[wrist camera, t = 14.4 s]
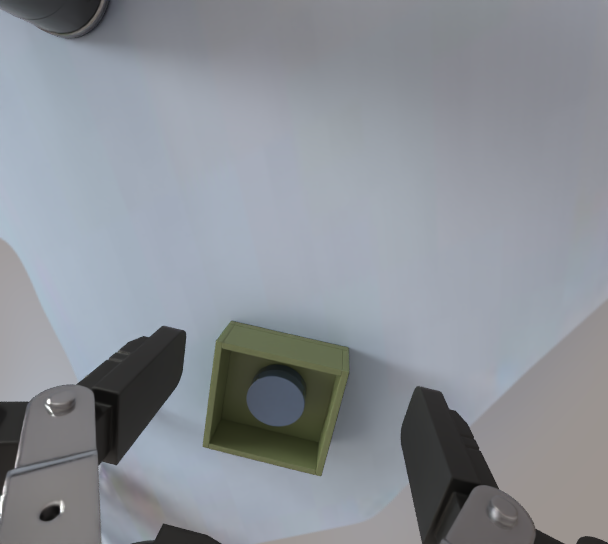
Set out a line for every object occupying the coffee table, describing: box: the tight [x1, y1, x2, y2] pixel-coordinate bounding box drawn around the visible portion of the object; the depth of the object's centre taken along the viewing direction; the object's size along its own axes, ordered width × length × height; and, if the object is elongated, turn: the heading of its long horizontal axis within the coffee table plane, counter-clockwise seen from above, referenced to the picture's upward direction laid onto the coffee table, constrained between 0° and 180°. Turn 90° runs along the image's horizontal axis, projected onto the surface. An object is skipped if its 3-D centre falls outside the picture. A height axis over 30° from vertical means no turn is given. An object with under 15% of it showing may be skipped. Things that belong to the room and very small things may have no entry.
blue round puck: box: [246, 364, 307, 427], centre depth 38 cm, size 6×6×2 cm
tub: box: [203, 321, 349, 476], centre depth 38 cm, size 13×13×5 cm
